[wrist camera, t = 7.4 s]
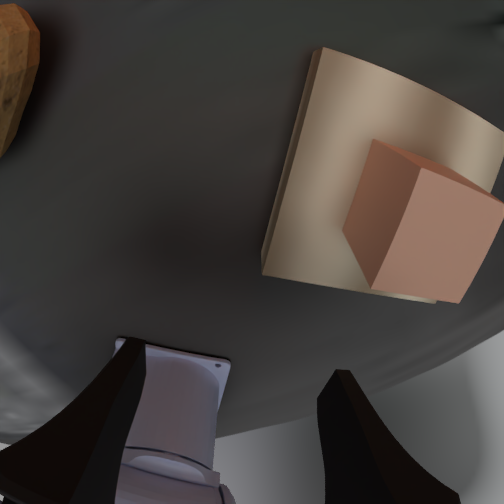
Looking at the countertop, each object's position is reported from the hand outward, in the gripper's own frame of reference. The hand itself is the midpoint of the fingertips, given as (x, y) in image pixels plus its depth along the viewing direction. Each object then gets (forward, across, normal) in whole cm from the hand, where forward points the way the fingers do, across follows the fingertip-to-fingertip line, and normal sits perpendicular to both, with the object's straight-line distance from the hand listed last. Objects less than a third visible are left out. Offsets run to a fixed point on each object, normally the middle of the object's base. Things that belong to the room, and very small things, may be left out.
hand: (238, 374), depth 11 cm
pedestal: (+10, -7, -6) cm, 14 cm away
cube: (+7, -7, -6) cm, 12 cm away
